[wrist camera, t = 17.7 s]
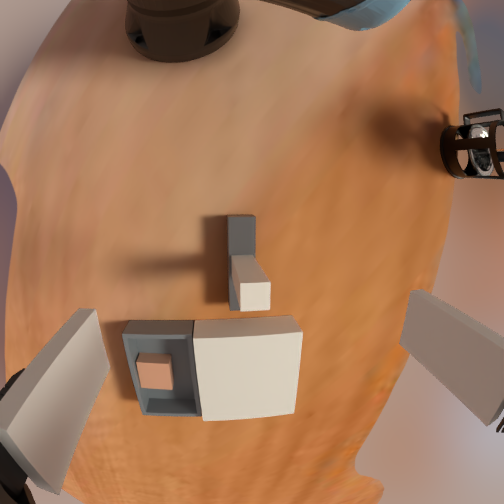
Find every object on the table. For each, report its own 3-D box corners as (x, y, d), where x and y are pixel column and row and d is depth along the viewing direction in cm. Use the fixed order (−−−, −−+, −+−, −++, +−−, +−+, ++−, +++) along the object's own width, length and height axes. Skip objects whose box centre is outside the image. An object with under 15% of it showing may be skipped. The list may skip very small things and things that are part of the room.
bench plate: (194, 320, 36) (193, 338, 31) (291, 315, 38) (302, 331, 33) (203, 399, 39) (203, 420, 34) (286, 392, 41) (294, 413, 36)
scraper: (226, 214, 34) (235, 228, 21) (251, 214, 34) (275, 227, 22) (228, 301, 36) (237, 355, 23) (251, 300, 36) (271, 353, 24)
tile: (169, 363, 33) (171, 353, 36) (136, 362, 33) (139, 352, 35) (172, 389, 34) (174, 379, 37) (141, 387, 34) (144, 377, 36)
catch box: (129, 320, 35) (121, 333, 31) (193, 320, 36) (191, 334, 32) (146, 398, 38) (142, 414, 34) (201, 399, 39) (201, 416, 35)
